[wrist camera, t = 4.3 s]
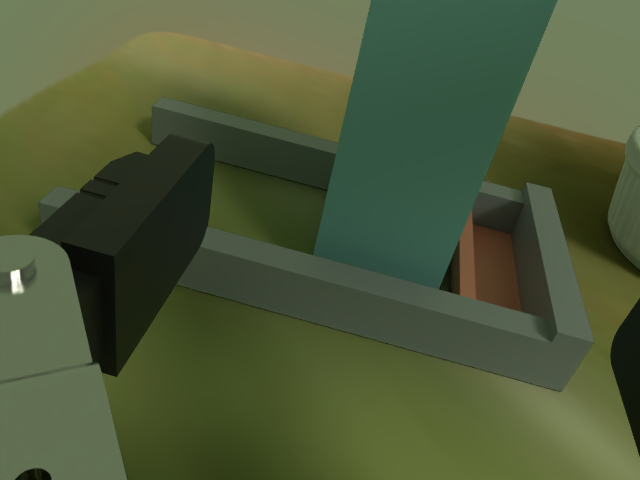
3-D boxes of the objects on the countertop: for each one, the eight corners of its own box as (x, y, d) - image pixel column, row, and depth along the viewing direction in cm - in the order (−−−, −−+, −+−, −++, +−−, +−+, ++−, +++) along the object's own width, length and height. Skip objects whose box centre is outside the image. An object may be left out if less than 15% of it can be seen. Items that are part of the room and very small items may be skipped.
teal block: (435, 236, 27) (567, -112, 18) (432, 306, 23) (599, -101, 14) (331, 208, 27) (415, -147, 19) (308, 272, 23) (404, -146, 15)
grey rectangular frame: (530, 231, 29) (551, 188, 27) (561, 391, 20) (594, 342, 19) (161, 133, 30) (162, 87, 28) (43, 247, 21) (36, 189, 20)
